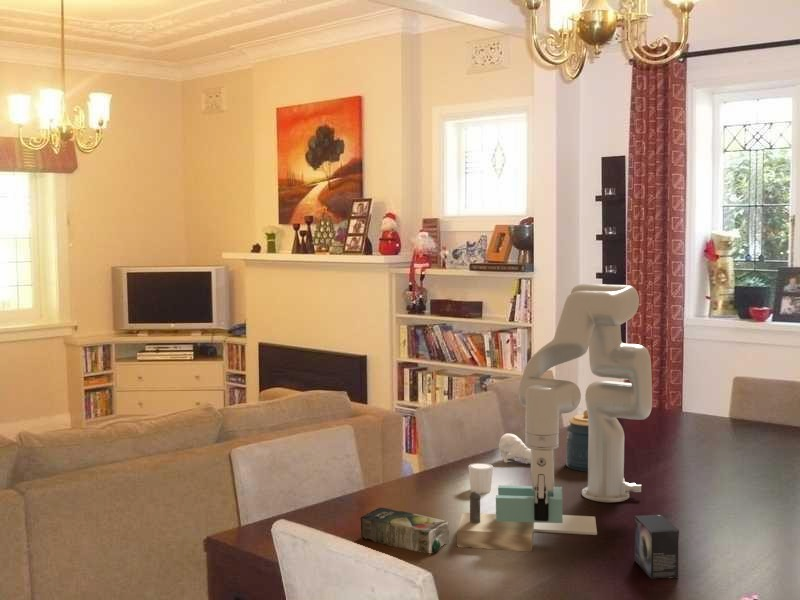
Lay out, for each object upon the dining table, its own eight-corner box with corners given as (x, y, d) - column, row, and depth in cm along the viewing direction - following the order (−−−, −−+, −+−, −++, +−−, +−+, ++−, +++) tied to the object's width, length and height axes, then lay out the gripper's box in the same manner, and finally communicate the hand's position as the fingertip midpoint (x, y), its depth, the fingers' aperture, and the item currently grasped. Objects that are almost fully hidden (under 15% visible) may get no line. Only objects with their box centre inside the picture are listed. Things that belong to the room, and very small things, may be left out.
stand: (533, 532, 219) (533, 486, 218) (531, 551, 206) (532, 502, 205) (463, 528, 222) (463, 483, 221) (457, 547, 209) (457, 499, 208)
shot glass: (491, 494, 250) (491, 469, 249) (466, 493, 251) (466, 468, 250) (494, 487, 256) (494, 463, 256) (469, 486, 258) (469, 462, 257)
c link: (562, 509, 216) (562, 486, 216) (562, 523, 206) (562, 499, 206) (499, 507, 219) (498, 485, 218) (496, 521, 209) (495, 497, 208)
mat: (595, 518, 229) (595, 516, 229) (596, 534, 217) (597, 532, 217) (534, 515, 231) (534, 513, 231) (533, 531, 220) (533, 529, 220)
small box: (632, 561, 200) (633, 514, 200) (661, 560, 201) (661, 513, 200) (649, 579, 190) (650, 530, 189) (679, 578, 190) (680, 529, 190)
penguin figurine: (506, 430, 288) (541, 438, 282) (504, 456, 290) (538, 465, 283) (497, 434, 283) (532, 442, 277) (495, 460, 284) (530, 469, 278)
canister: (561, 469, 274) (562, 412, 273) (570, 459, 286) (570, 404, 285) (605, 474, 270) (606, 415, 268) (612, 463, 281) (613, 407, 280)
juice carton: (454, 543, 212) (453, 517, 212) (433, 556, 204) (433, 530, 204) (381, 529, 223) (381, 505, 222) (359, 542, 215) (358, 516, 214)
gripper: (558, 448, 198) (558, 531, 200) (558, 432, 214) (558, 508, 215) (523, 447, 199) (523, 529, 201) (526, 431, 215) (526, 507, 216)
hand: (541, 518), depth 208 cm, fingers closed on c link
